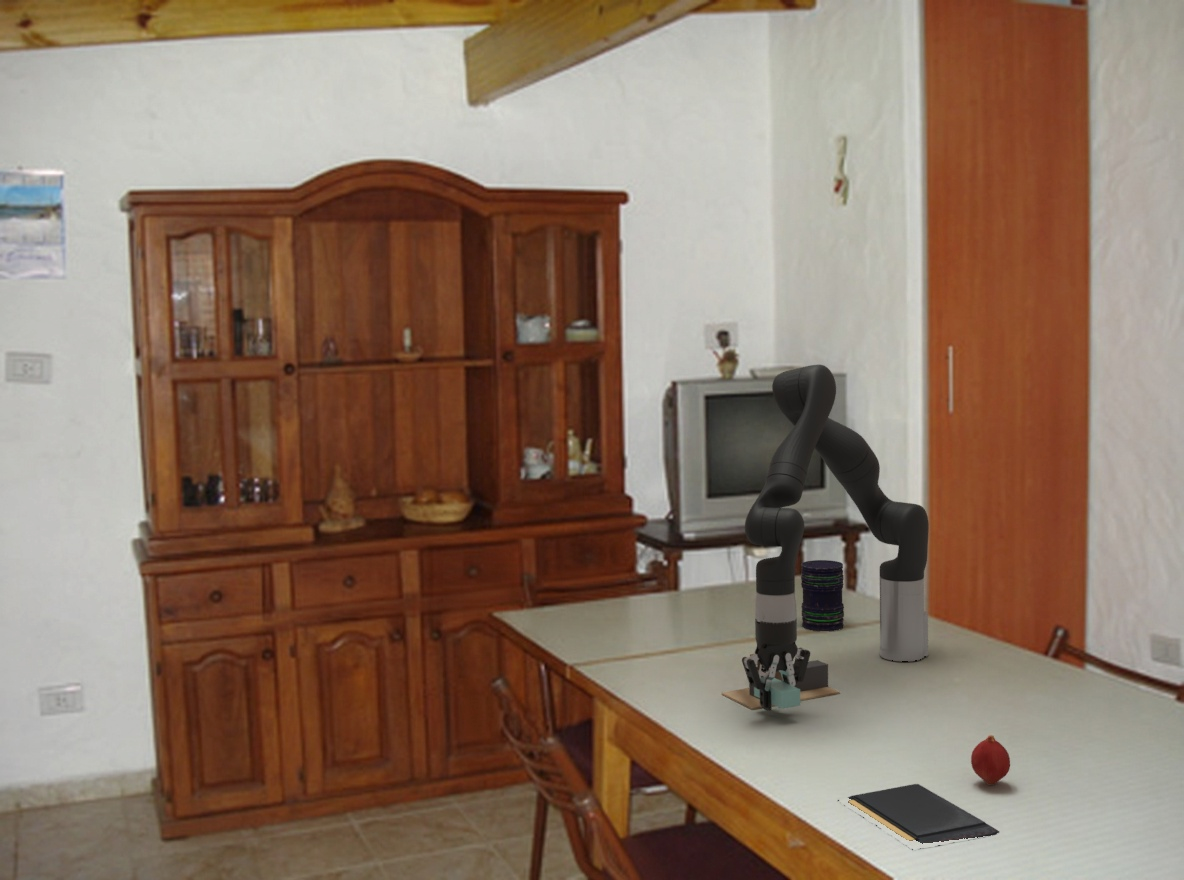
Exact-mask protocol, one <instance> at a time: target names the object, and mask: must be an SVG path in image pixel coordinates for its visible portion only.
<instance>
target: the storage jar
mask: <svg viewBox="0 0 1184 880" xmlns="http://www.w3.org/2000/svg"><path fill="white" fill-rule="evenodd" d="M800 565H801V574H800V580H801V582H800V585H801V588H802V603H801V620H802V624H801V627H802V629H805V630H807V631H811V630H813V632H820V631H829V632H835V631H834V630H837V631H840V630H842V629H844V627H843V626H844V617H845V611H844V610H845V606H844V603H843V589H844V585H845V584H844V580H845V579H844V576H845V575H844V570H843V569H844V563H842V562H840V561H837V560H836V561H835V560H829V559H822V560H821V559H820V560H819V559H816V560H815V559H814V560H807V561H803V562H802V563H801V564H800ZM841 628H842V629H841ZM839 629H840V630H839Z"/></svg>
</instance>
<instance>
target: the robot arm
mask: <svg viewBox="0 0 1184 880" xmlns="http://www.w3.org/2000/svg"><path fill="white" fill-rule="evenodd" d="M772 395H773V398H774V401H775V403H776V406H777V407H778V408H779V410H780V412H781V413H782V414H783V415H784V416H785V417H786V419H787V420H788V421H789V422H790V423H791V424H792V425H793V428H792V429H791V430H790V432H789V433H788V434H787V435H786V437H785V438H784V439H783V441H782V442H780V444H779V445H778V447H777V448H776V450H775V452H774V453H773V455H772V458H771V460H770V463H769V467H768V471H767V473H766V474H767V475H766V478H765V484H764V486H763V488H762V490H761V491H760V493H759V495H758V497H757V498H756V500H755V501H754V503H753V504H752V506H751V508H750V509H749V511H748V513H747V516H746V518H745V522H744V532H745V535H746V538H747V540H748V541H749V543H751V544H753V545H756V546H760V547H761V546H762V547H763V546H765V547H781V552H780V554H779V555H778V556H773V557H768V558H767V557H765V558H763V559H761V560H759V561H757V563H756V566H755V599H754V600H755V601H754V619H755V620H754V624H755V625H754V626H755V627H754V628H755V630H754V631H755V635H754V637H755V638H754V639H755V641H756V648H755V650H754V653H752V654H753V655H752V656H750V655H749V656H744V657H742V658H741V662H742V665H743V668H744V671H745V676H746V678H747V680H748V683H749V684H750V686H752V687H755V688H757V689H759V690H760V705H761V706H762V708H761V709H763V710H765V711H767V712H768V711H772V707H773V706H772V704H771V691H770V688H771V683H772V680H773V679H774V677H775V672H777V671H779V672H780V673H781V676H782V680H783V682H785V683H787V684H790V685H792V686H795V684H796V683H798V682H802V681H803V679H804V676H805V672H806V668H807V665H808V662H809V660H810V656H811V651H810V650H808V649H806V648H803V647H798V645H797V644H796V642H797V639H798V634H797V633H798V631H797V629H798V627H797V624H798V622H797V621H798V618H797V617H798V616H797V612H798V611H797V610H798V609H797V600H796V576H795V575H796V574H795V573H796V565H797V559H798V553H799V549H800V546H801V543H802V539H803V536H804V533H805V532H804V531H805V521H804V518H803V516H802V514H801V513H800V512H799V510H797V509H795V508H790V506H793V505H797V504H798V503H799V502H800V500H801V498H802V495H803V491H804V488H805V483H806V478H807V474H808V469H809V466H810V462H811V459H812V457H813V453H814V451H816V453H818V455H819V456H820V457H821V459H822V460H823V461H824V464H825V465H826V467H828V469H829V471H830V472H831V473H832V475H833V477H834V478H836V480H837V482H838V483H839V484H840V485H841V486H842V487H843V488H844V490H845V491H846V493H847V495H849V497H850V499H851V500H852V501H853V503H854V504H855V506H856V507H857V509H858V510H859V512H860V514H861V516H862V518H863V520H864V521H865V523H866V525H867V527H868V529H869V530H870V532H871V534H872V535H873V537H875V539H876V540H877V541H878V542H881V543H883V544H886V545H890V546H891V545H892V546H897V547H898V551H897V552H898V553H897V556H896V557H895V558H893V559H890V560H889V559H888V560H886V561H883V562H882V563H880V566H879V655H880V657H881V658H883V659H884V660H888V661H892V660H893V662H902V661H908V662H915V660H917V661H920V659H921V660H923V659H924V658H925V657H924V656H926V657H929V613H928V612H927V611H925V570H926V567H927V562H928V548H929V524H930V523H929V516H928V514H927V511H926V509H925V508H924V507H923V506H922V505H920V504H916V503H910V502H909V503H908V502H903V501H893V500H892V499H891V498H889V497H888V496H887V495H886V494H885V493H884V491H883V490H882V488H881V487H880V485H879V479H880V471H881V469H880V468H881V466H880V462H879V459H878V457H877V456H876V453H875V452H874V451H873V449H872V448H871V447H870V444H868V442H867V441H866V439H865V438H864V437H863V436H862V435H861V434H860V433H858V432H857V431H856V430H854V429H852V428H850V427H849V426H848V427H847V426H846V425H844V424H842V423H840V422H838V421H836V420H834V419H832V418H830V414H831V411H832V409H833V406H834V404H835V400H836V396H837V384H836V379H835V377H834V374H833V373H832V371H831V370H830V369H829V368H828V367H827V366H826V365H824V364H810V365H805V366H801V367H796V368H792V369H789V370H785V371H783V372H780V373H778V374H777V375H776V376H775V377H774V378H773V381H772ZM788 507H789V508H788ZM794 658H795V659H794ZM922 658H923V659H922ZM757 661H759V662H760V668H759V674H758V671H757V668H756V667H758V665H757ZM793 661H794V662H793ZM792 664H794V665H792ZM766 670H767V671H768V672H767V671H766ZM759 675H760V676H759ZM749 684H748V685H749Z"/></svg>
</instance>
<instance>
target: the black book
mask: <svg viewBox="0 0 1184 880" xmlns="http://www.w3.org/2000/svg"><path fill="white" fill-rule="evenodd" d="M847 798H849V799H851V800H849V801H848V803H850V804H851V805H853V806H855V807H857V808H858V809H859V810H861V811H863V812H864V813H866V814H868V815H869V816H870V817H872V818H874V819H875V820H877V821H878V822H880V823H881V824H883V825H885V826H886V827H887V828H889V829H890V830H892V831H894V832H895V833H896V834H898V835H900V836H901V837H903V838H905V839H906V840H909V841H913V840H916V841H918V842H920V843H922V844H923V843H933V842H939V841H941V842H944V841H949V840H959V839H963V838H964V839H965V838H966V839H968V838H975V837H977V838H978V837H983V836H988V837H991V835H992V836H995V835H998V834H1000V830H998V829H996V828H995V827H993V826H991V825H990V824H988V823H987V822H986V821H983V820H982V819H981V818H978V817H977V816H975V815H973V814H972V813H970V812H968V811H967V810H965V809H962V808H961V807H959V806H958V805H956V804H954V803H952V802H951V801H948V800H947V799H945V798H944V797H942V796H940V795H938V794H937V793H935V792H933V791H931V790H930V789H928V788H926V787H924V786H923V785H920V784H919V783H913V784H908V785H907V784H906V785H902V786H901V785H900V786H897V787H892V788H886V789H881V790H875V791H871V792H869V791H868V792H865V793H860V794H854V795H850V796H848V797H847ZM997 833H998V834H997ZM983 838H984V837H983ZM978 839H979V838H978Z"/></svg>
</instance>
